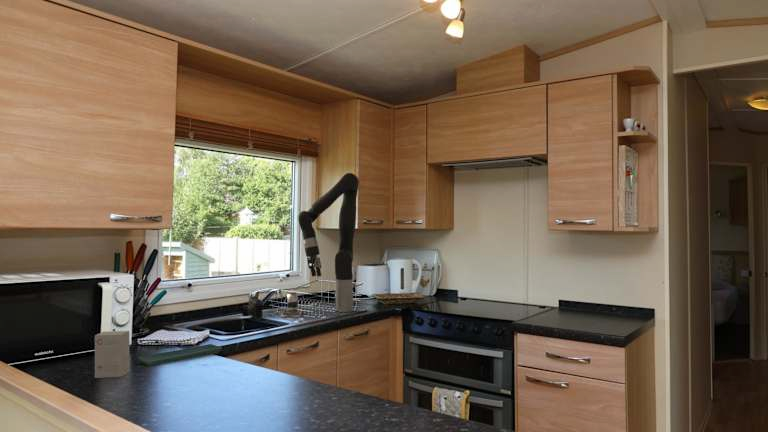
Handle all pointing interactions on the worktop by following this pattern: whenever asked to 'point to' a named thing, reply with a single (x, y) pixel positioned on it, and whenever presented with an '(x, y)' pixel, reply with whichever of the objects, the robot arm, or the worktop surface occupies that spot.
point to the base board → (291, 316)
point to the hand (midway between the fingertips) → (316, 276)
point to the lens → (292, 301)
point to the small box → (112, 354)
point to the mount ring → (290, 312)
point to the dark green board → (180, 354)
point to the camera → (253, 308)
